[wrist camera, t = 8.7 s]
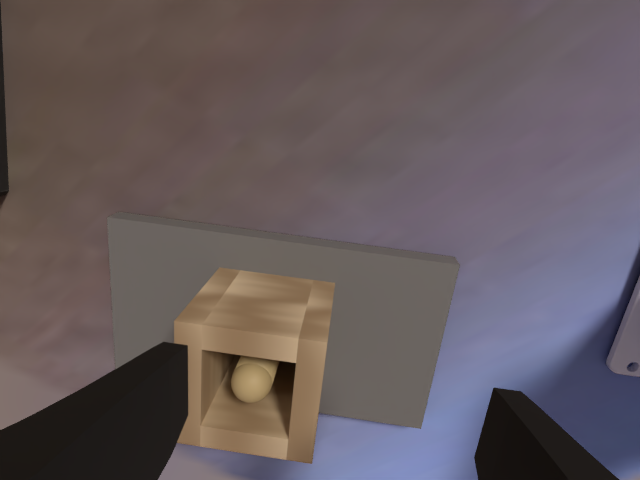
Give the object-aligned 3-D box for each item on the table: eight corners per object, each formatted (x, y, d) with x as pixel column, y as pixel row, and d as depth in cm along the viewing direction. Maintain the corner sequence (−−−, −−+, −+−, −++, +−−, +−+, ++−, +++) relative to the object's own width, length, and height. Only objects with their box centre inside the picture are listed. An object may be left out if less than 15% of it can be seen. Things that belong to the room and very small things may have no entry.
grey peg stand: (454, 257, 19) (493, 318, 14) (418, 414, 22) (438, 518, 17) (118, 211, 20) (27, 252, 14) (125, 369, 23) (52, 454, 17)
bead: (335, 282, 19) (327, 342, 14) (322, 381, 21) (312, 463, 16) (219, 267, 19) (173, 321, 14) (216, 366, 21) (175, 442, 16)
